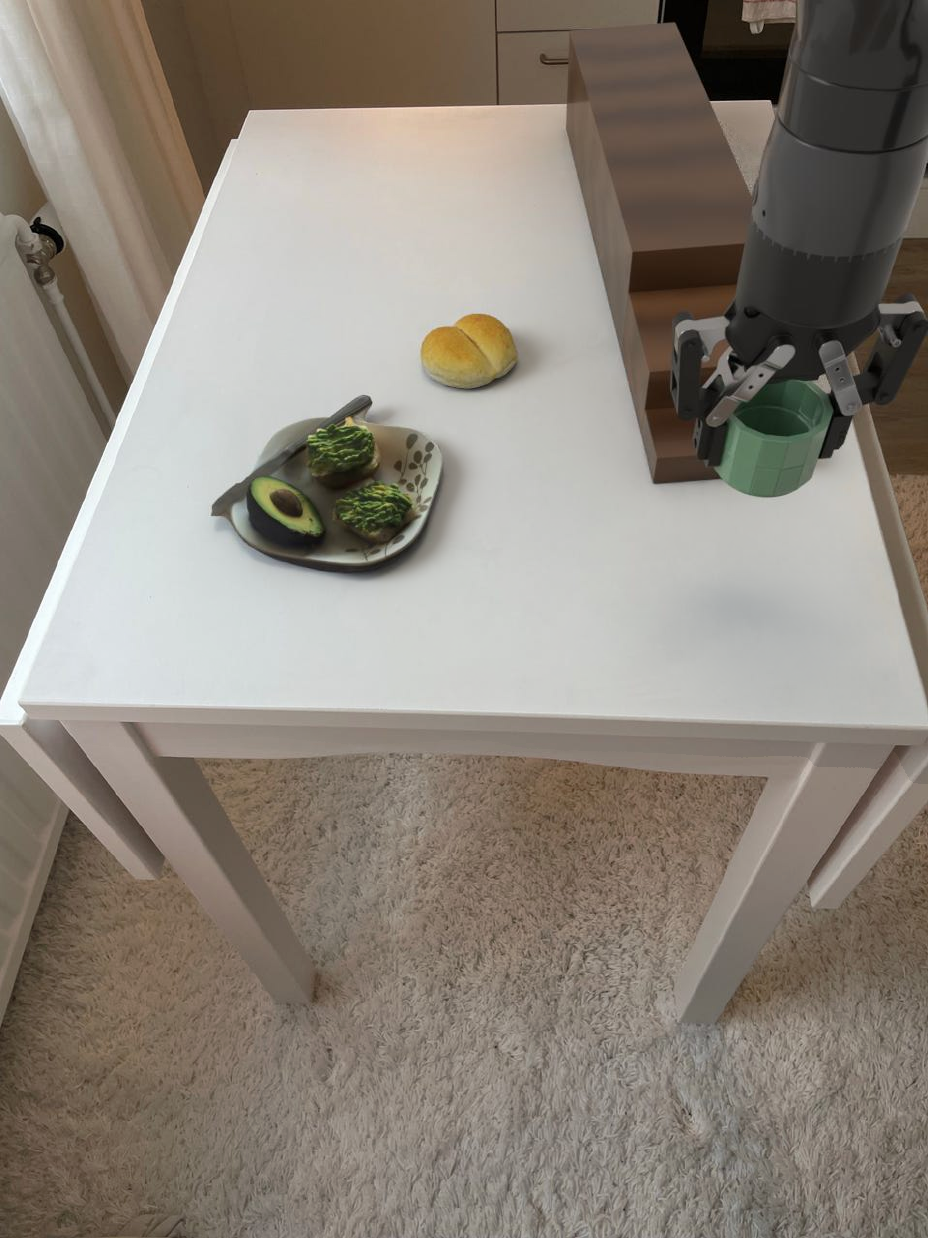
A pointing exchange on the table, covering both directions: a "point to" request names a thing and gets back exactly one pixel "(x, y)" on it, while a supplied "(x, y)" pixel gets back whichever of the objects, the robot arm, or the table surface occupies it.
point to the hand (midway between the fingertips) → (764, 453)
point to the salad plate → (336, 492)
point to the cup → (775, 439)
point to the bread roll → (469, 352)
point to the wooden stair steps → (655, 213)
